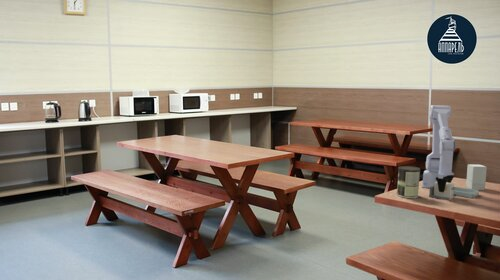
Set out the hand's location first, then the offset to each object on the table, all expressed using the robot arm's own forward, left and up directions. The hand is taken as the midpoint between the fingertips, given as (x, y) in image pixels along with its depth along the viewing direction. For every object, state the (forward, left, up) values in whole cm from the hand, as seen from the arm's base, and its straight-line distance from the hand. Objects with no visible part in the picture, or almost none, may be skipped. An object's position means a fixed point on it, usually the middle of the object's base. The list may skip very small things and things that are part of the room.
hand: (443, 190), depth 244 cm
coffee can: (-14, -11, -3) cm, 18 cm away
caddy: (0, 0, -3) cm, 3 cm away
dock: (0, 0, -3) cm, 3 cm away
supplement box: (+7, +31, -3) cm, 32 cm away
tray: (+5, +12, -3) cm, 14 cm away
